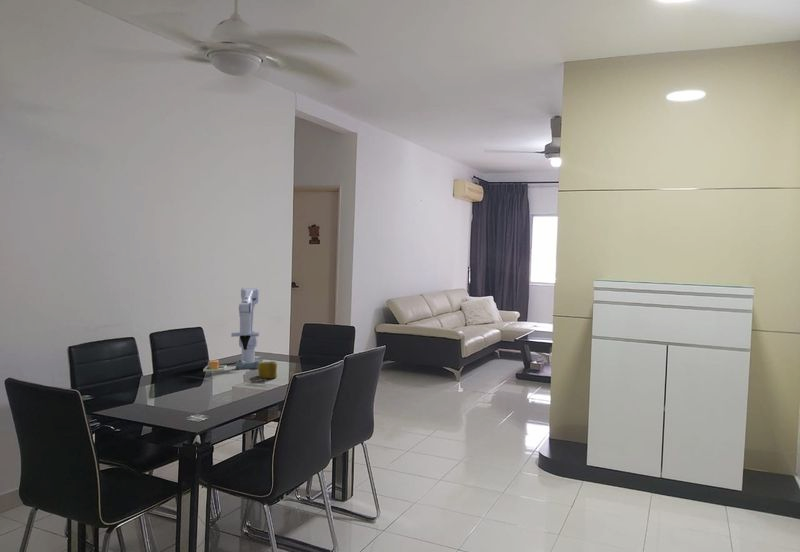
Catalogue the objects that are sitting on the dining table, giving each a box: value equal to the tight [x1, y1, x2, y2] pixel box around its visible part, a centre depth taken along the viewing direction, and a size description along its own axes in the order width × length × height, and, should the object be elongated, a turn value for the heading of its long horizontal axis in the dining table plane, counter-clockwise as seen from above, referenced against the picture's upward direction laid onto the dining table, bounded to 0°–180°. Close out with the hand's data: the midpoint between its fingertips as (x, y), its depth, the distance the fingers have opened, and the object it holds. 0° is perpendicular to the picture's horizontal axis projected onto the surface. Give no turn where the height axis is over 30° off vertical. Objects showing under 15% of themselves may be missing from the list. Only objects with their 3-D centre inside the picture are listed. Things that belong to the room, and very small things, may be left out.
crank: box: [235, 359, 260, 370], centre depth 323 cm, size 12×5×4 cm, turn 106°
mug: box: [257, 361, 278, 380], centre depth 306 cm, size 12×10×10 cm
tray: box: [202, 364, 228, 372], centre depth 320 cm, size 11×11×2 cm
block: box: [209, 359, 220, 369], centre depth 319 cm, size 4×4×5 cm
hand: (245, 349), depth 327 cm, fingers closed
